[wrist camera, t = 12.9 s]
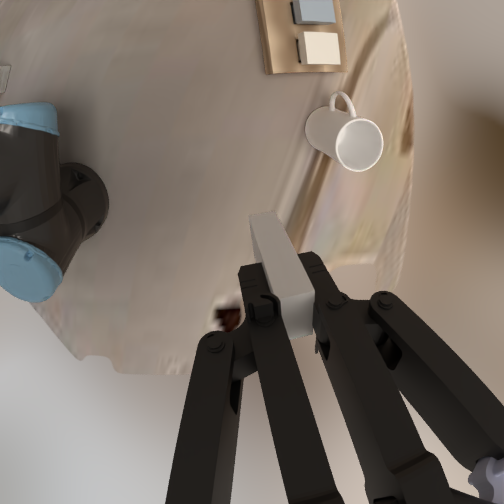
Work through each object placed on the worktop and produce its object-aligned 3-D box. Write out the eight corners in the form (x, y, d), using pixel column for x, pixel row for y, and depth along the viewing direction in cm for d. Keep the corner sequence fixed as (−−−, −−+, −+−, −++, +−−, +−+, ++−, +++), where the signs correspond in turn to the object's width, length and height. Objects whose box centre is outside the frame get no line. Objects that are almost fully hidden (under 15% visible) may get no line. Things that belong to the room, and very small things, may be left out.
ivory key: (291, 66, 35) (307, 63, 29) (288, 38, 32) (303, 31, 26) (320, 65, 35) (340, 64, 29) (317, 38, 32) (337, 33, 26)
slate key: (287, 28, 31) (302, 20, 25) (283, 3, 28) (297, -9, 22) (316, 29, 31) (335, 22, 25) (312, 4, 28) (331, -6, 23)
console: (265, 74, 37) (273, 73, 33) (250, -28, 26) (255, -38, 22) (334, 72, 38) (347, 72, 34) (320, -25, 26) (332, -33, 22)
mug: (302, 89, 39) (332, 93, 30) (347, 89, 40) (386, 95, 30) (305, 153, 46) (333, 175, 37) (348, 150, 47) (383, 171, 37)
